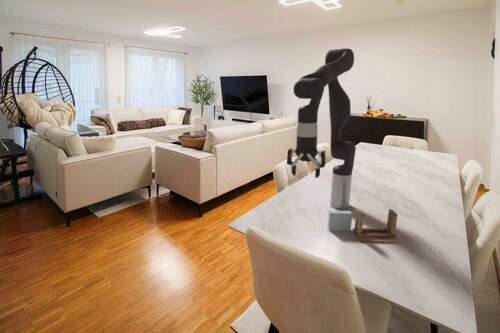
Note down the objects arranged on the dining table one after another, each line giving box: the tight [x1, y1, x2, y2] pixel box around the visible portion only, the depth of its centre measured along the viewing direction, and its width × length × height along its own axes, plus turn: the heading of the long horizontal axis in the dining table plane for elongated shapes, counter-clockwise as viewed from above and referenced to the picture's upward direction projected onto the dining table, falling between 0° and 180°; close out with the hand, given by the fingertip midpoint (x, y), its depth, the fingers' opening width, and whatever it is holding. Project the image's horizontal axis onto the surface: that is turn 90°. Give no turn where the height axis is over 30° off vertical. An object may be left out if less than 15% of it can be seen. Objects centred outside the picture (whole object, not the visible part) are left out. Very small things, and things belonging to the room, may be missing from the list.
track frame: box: [351, 208, 399, 244], centre depth 116 cm, size 10×14×11 cm
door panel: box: [327, 210, 353, 232], centre depth 122 cm, size 2×9×8 cm, turn 87°
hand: (305, 176), depth 112 cm, fingers open, 8 cm apart
